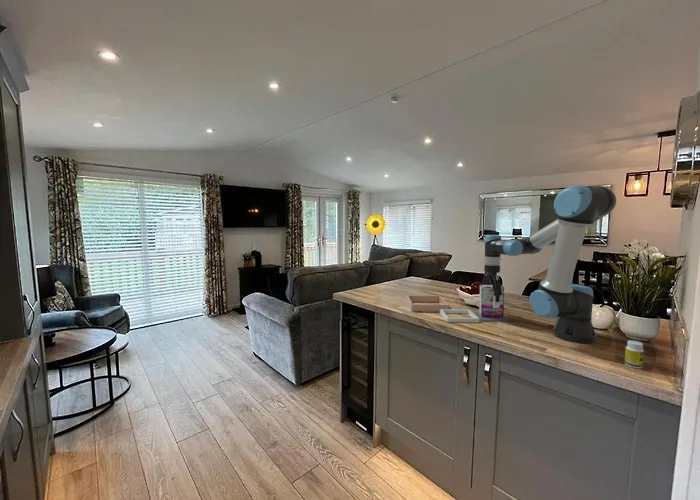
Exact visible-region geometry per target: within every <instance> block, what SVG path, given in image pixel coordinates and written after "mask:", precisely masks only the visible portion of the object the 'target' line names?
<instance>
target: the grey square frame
mask: <svg viewBox="0 0 700 500" xmlns="http://www.w3.org/2000/svg"><path fill="white" fill-rule="evenodd" d="M473 312H474V311H472V310H470V309H465V308H464V309H462V308H461V309H450V308H449V309H440V312H439V314H440V315H441V317H443V319H444V321H445V322H447V323H480V319H479V318H478V317H477V316H476V315H475V314H474V313H473ZM459 313H462V314H463V315H464V314H467V315H469V316H470V317H448V314H459Z"/></svg>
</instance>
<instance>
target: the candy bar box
mask: <svg viewBox="0 0 700 500" xmlns="http://www.w3.org/2000/svg"><path fill="white" fill-rule="evenodd" d="M501 290H502V295H500V306H499V308H493V303H494V296H493V295H494V290H493V286H492V284H490V285H482V284H479V309H478V310H479V311H478V312H479V314H480V315H481V317H503V316H505V315H504V307H505V306H504V305H505V286H503V285H502V284H501Z"/></svg>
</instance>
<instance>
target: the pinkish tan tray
mask: <svg viewBox="0 0 700 500" xmlns="http://www.w3.org/2000/svg"><path fill="white" fill-rule="evenodd" d="M406 303H407V305H408V307H410V308H409V309H411V310H410V312H411V311H422V312H423V313H427V312H428V313H433V312H434V313H436V312H437V313H440V309H450V304H449V303H448V302H447V301H446V300H445V299H444V298H443V297H442V296H441V295H437V294H435V295H432V294H431V295H418V294H415V295H413V294H412V295H409V294H408V295H406ZM414 303H415V304H414ZM419 303H420V304H419ZM421 303H422V304H421ZM423 303H429V304H423ZM431 303H433V304H431ZM434 303H436V304H434ZM437 303H439V304H437ZM422 312H421V313H422Z"/></svg>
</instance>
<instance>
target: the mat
mask: <svg viewBox="0 0 700 500" xmlns="http://www.w3.org/2000/svg"><path fill="white" fill-rule="evenodd" d="M472 312H473V313H474V314H475V315H476V316H477V317H478V318H479V321H481V322H511V319H509V318H508V317H507V316H505V315H504V316H503V317H481V315H480V314H479V311H472Z"/></svg>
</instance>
